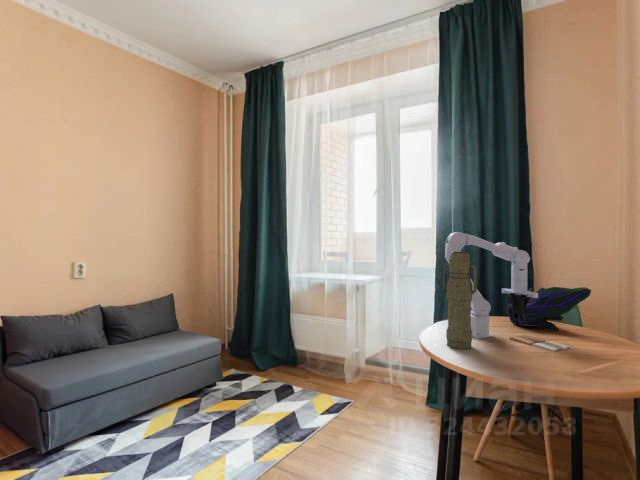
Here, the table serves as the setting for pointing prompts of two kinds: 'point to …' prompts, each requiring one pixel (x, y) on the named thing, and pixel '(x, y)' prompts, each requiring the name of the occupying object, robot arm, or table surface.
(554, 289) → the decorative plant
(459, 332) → the thermos
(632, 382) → the table surface
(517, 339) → the plank
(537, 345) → the laid board
